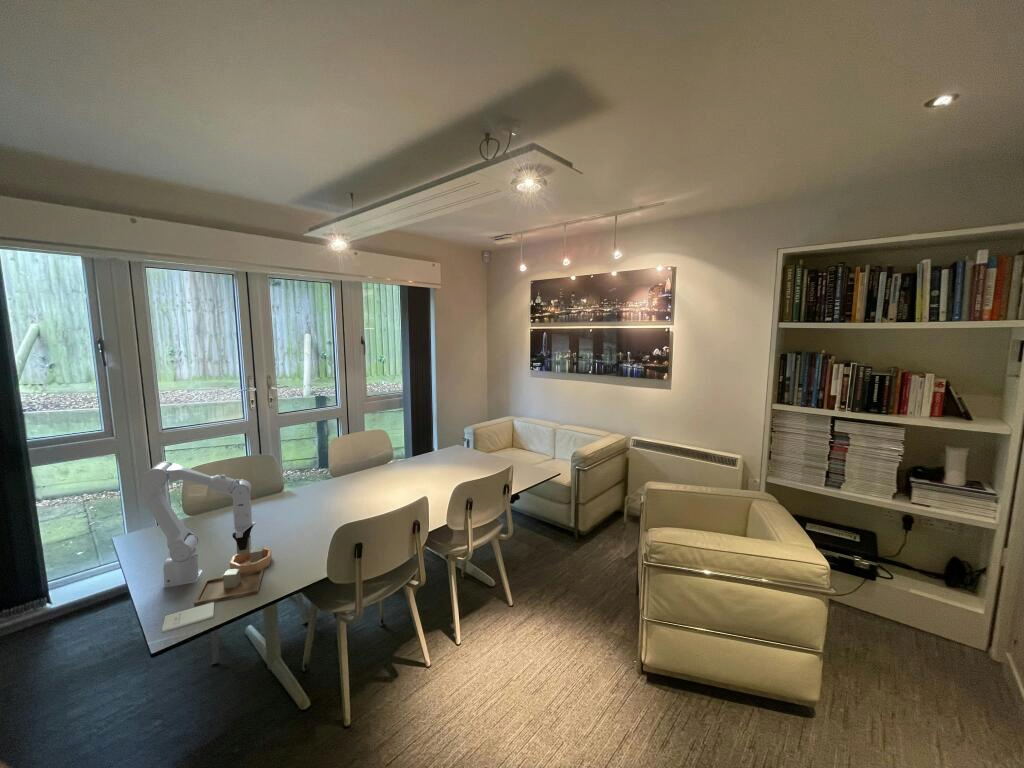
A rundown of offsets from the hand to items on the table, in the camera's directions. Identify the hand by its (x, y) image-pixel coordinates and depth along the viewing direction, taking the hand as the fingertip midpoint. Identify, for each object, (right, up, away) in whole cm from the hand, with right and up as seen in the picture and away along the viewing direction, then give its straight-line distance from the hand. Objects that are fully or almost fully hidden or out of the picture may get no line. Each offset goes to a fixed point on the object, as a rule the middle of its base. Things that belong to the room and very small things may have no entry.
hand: (243, 546), depth 153 cm
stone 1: (+2, -10, -10) cm, 14 cm away
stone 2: (0, -2, 0) cm, 2 cm away
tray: (+3, -10, -11) cm, 15 cm away
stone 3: (+2, -8, +5) cm, 10 cm away
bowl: (+1, -9, +3) cm, 9 cm away
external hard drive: (0, -13, -26) cm, 29 cm away
